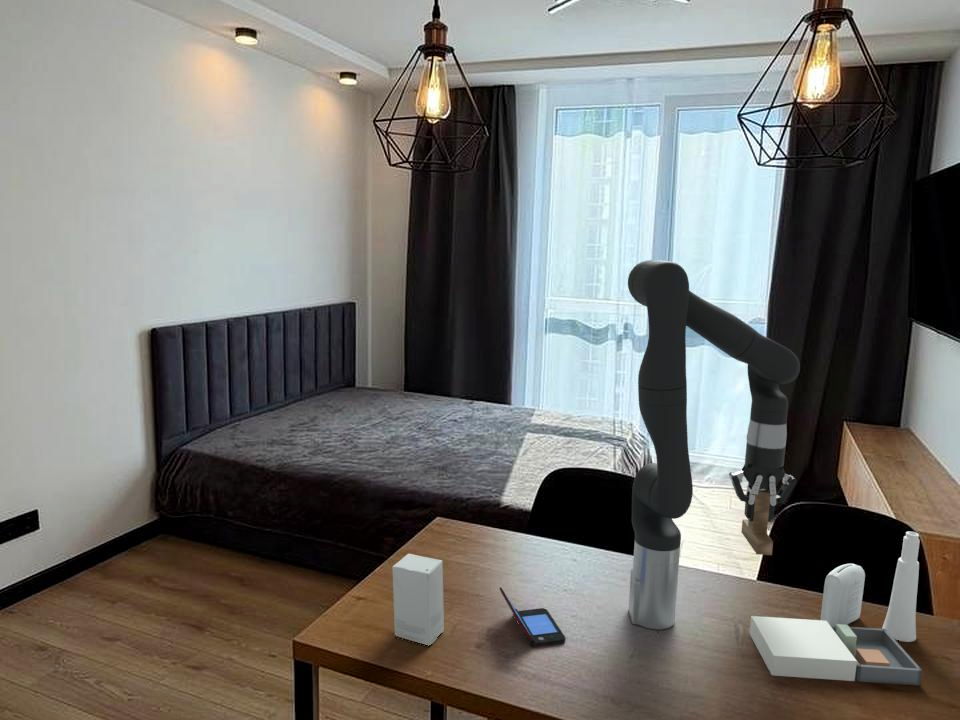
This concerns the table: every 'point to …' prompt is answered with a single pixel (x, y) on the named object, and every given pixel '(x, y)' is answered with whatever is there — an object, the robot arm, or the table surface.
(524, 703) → the table surface
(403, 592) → the skincare box
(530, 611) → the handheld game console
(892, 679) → the box
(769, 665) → the off-white plate
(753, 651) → the table surface
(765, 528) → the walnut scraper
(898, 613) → the cosmetic bottle
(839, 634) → the sage-green tile
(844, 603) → the photo printer
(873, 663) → the terracotta tile
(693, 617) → the table surface
